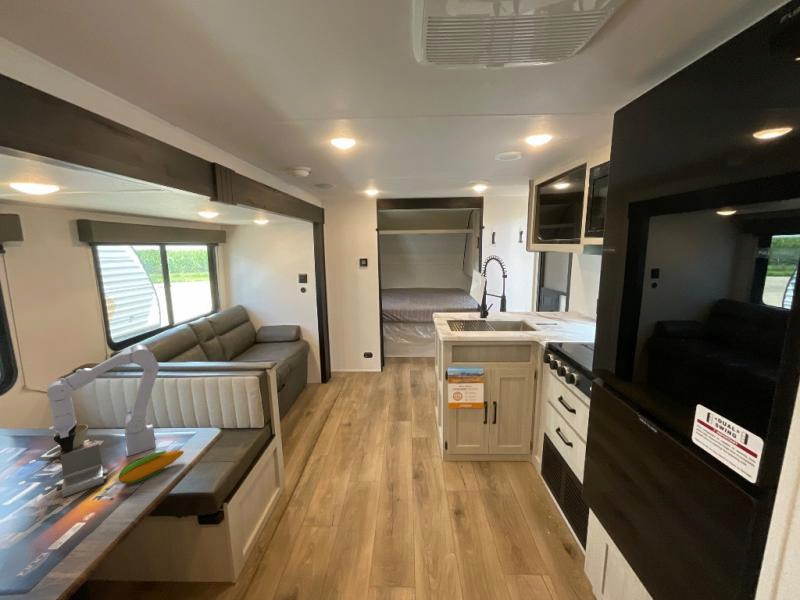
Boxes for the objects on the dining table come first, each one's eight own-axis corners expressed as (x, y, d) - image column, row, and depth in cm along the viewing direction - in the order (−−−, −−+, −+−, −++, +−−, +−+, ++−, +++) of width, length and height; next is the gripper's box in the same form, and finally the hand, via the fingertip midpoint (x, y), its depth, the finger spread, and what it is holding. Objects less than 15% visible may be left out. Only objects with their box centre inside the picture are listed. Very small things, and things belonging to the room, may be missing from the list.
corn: (114, 464, 113) (178, 438, 129) (116, 482, 115) (180, 454, 131) (120, 474, 109) (186, 446, 125) (122, 493, 110) (187, 463, 126)
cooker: (108, 471, 120) (107, 464, 120) (108, 482, 115) (107, 474, 114) (59, 488, 112) (57, 480, 111) (57, 500, 106) (55, 492, 106)
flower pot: (87, 436, 142) (84, 421, 141) (92, 444, 136) (90, 429, 135) (54, 447, 134) (51, 432, 133) (59, 456, 128) (56, 440, 127)
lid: (102, 466, 119) (102, 463, 120) (99, 444, 118) (99, 442, 120) (63, 479, 112) (64, 476, 114) (60, 456, 111) (61, 453, 113)
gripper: (49, 409, 119) (55, 442, 122) (44, 425, 109) (51, 460, 111) (76, 403, 124) (81, 435, 126) (73, 418, 114) (79, 452, 116)
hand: (69, 446), depth 119 cm, fingers open, 7 cm apart
